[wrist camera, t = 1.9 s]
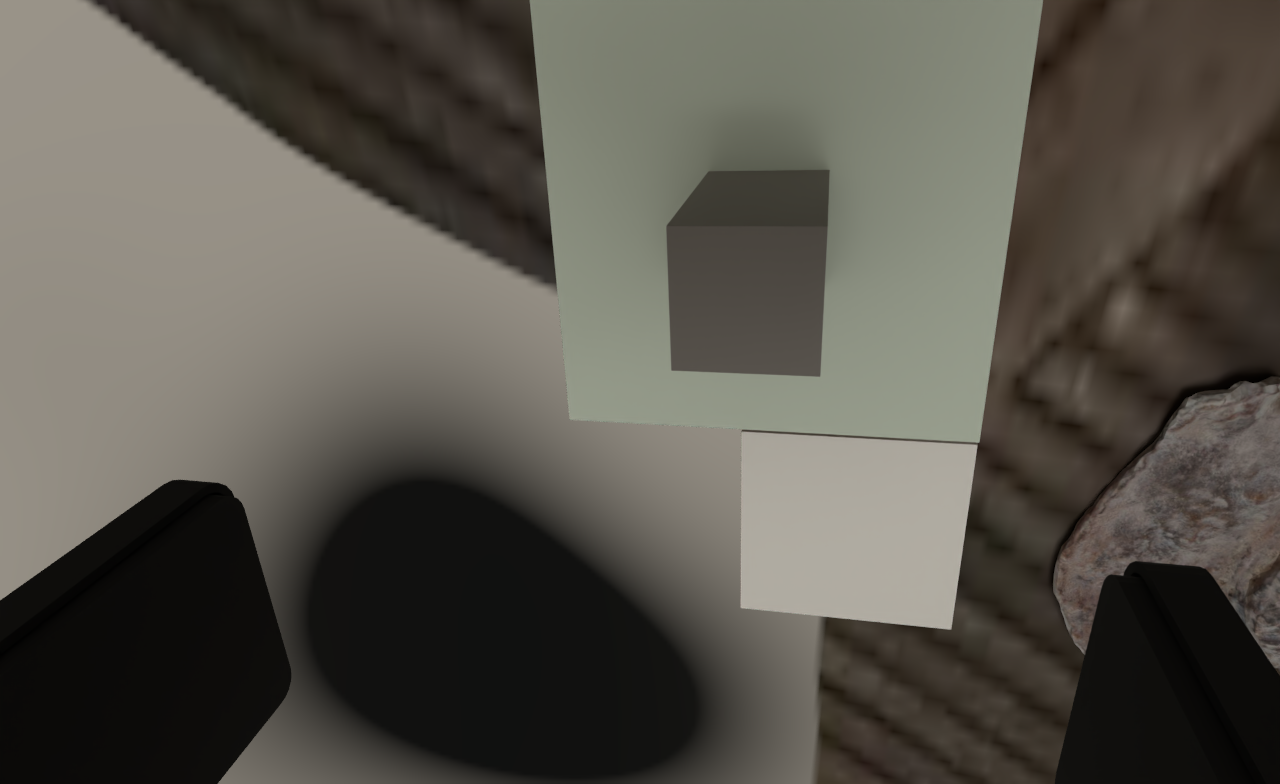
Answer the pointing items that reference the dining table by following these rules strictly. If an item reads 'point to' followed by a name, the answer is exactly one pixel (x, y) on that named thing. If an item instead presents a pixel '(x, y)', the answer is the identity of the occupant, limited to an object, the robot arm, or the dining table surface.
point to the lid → (782, 207)
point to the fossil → (1191, 511)
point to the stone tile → (853, 525)
